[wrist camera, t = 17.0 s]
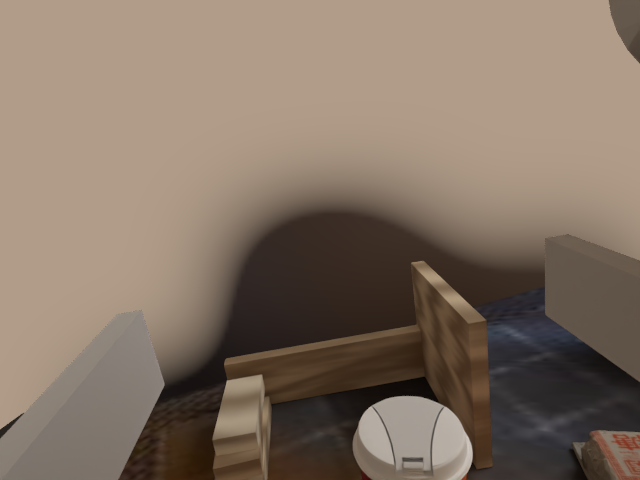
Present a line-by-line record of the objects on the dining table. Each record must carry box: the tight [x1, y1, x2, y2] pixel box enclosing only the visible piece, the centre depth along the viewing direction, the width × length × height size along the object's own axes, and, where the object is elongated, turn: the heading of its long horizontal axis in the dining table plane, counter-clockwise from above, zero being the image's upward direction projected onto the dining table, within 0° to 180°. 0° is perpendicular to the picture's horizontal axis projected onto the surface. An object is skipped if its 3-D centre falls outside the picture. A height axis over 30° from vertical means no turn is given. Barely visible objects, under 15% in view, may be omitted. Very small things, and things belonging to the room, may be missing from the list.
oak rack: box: [224, 261, 493, 469], centre depth 45 cm, size 17×28×16 cm, turn 94°
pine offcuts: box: [212, 374, 272, 480], centre depth 45 cm, size 14×5×6 cm, turn 4°
